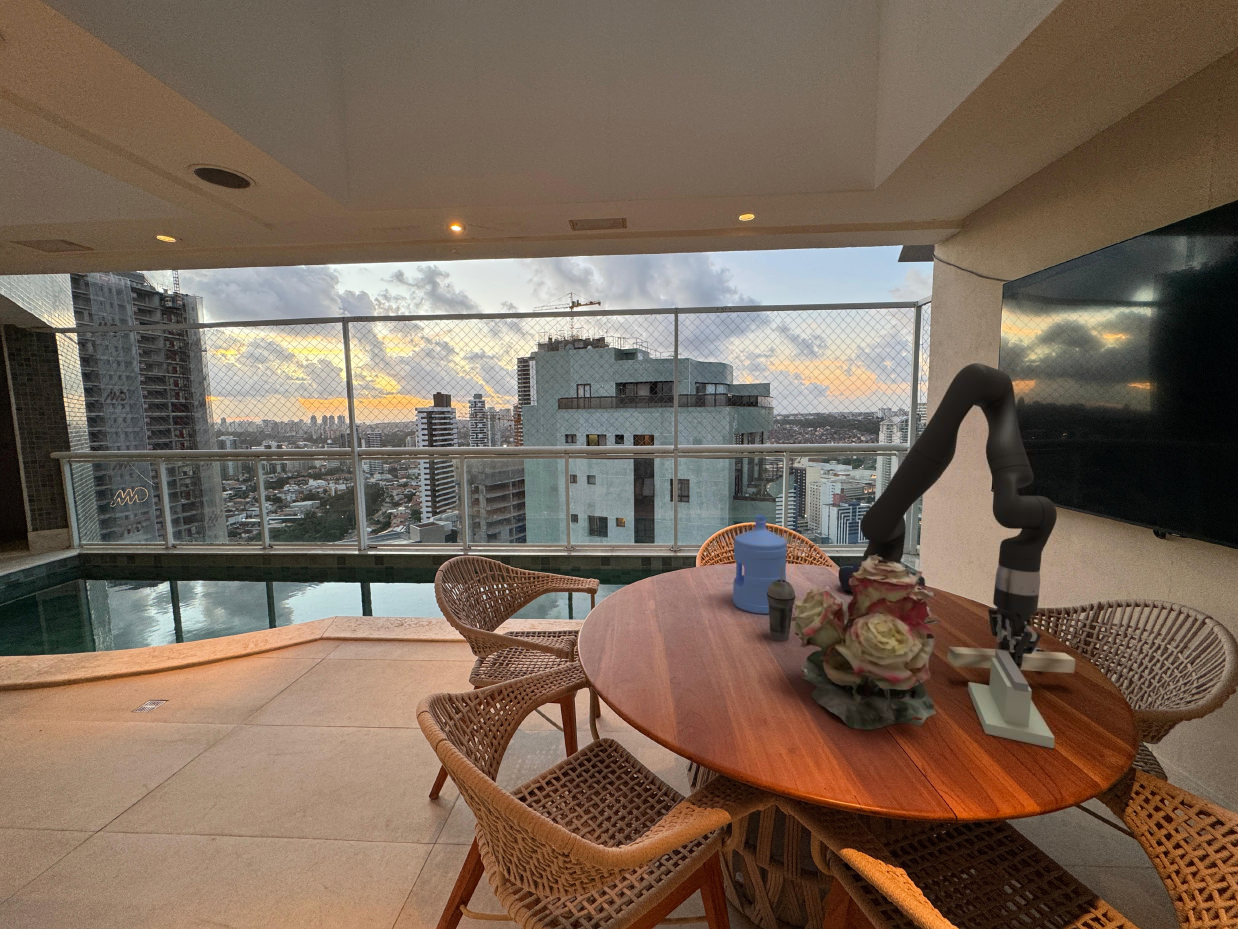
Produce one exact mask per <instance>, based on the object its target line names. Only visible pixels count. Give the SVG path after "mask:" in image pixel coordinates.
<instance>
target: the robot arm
mask: <svg viewBox="0 0 1238 929" xmlns="http://www.w3.org/2000/svg"><path fill="white" fill-rule="evenodd" d="M1015 396H1016V395H1015V388H1014V384H1013V380H1012V379H1011V377H1010V375H1009V374H1008V373H1006V372H1005V371H1003V370H1001V369H997V368H994V367H992V366H989V365H987V364H983V363H979V362H975V363H971V364H968V365H966V366H964V367H963V368H961V369H960V371H959V372H957V373H956V375H955V376H954V378H953V379H952V380H951V382H950V384H949V386H948V388H947V389H946V391H945V393H944V396H943V398H942V399H941V400H940V403H939V405H937V406H938V407H937V409H936V410H935V412H934V414H933V415H932V416H931V418H930V419H929V421H928V423H927V424H926V426H925V427H924V429H923V431H922V432H921V434H920V436H919V437H918V438H917V440H916V441H915V442H914V443H913V444H912V447H911V448H910V450H909V451H908V452H907V454H906V455H905V457H904V458H903V460H902V462H901V464H899V466H898V468H897V470H896V471H895V473H894V474H893V476H892V477H891V479H890V481H889V483H887V484H888V485H887V486H886V487H885V489H884V491H883V492H882V493H881V494H880V495H879V497H878V498H877V499H876V501H874V502H873V504H872V505H871V506H870V507H869V509H867V510H866V512H865V513H864V514H863V515H862V518H861V520H860V531H861V534H862V536H863V537H864V538H865V539H866V540H867V541H868V544H867V547H866V549H865V550H864V552H863V555H862V562H863V561H866V560H867V559H868V558H869V556H875V555H876V554H878V555H876V556H878V557H880V558H882V559H883V560H886V561H889V562H890V561H891V562H895V563H899V564H902V563H901V562H902V559H903V556H904V552H905V551H904V550H905V542H906V534H907V533H906V532H907V530H906V528H907V527H906V525H907V524H906V520H905V515H906V513H907V512H908V511H909V509H910V508H911V507H912V505H913V504H914V503H915V502H917V501H918V500H919V498H920V497H922V496H923V495H924V494H925V493H926V492H927V491H928V490H929V489H930V488H932V487H933V485H934V484H935V483H936V482H937V481H938V480H939V479H940V478H941V476H943V473H944V472H945V471H946V470H947V468H948V467H949V465H950V464H951V462H952V461H953V459H954V457H955V454H956V450H957V442H958V435H959V434H958V433H959V429H960V427H961V424H962V423H963V421H964V419H965V418H966V416H967V415H968V414H969V412H970V410H971V409H972V408H973V407H974V406H975V407H979V408H980V409H981V411H982V413H983V415H984V417H985V419H986V422H987V426H988V432H987V433H988V434H987V440H986V444H985V456H986V461H987V465H988V468H989V471H990V474H991V477H992V481H993V483H992V484H993V487H992V488H993V492H992V493H993V494H992V495H993V498H992V513H993V517H994V519H995V521H996V522H997V523H998V524H999V525H1000V526H1001V527H1004V528H1005V529H1012V530H1014V529H1015V530H1020V529H1021V530H1020V532H1019V533H1018V534H1017V535H1015V536H1011V537H1008V538H1005V539H1003V540H1001V542H1000V545H999V553H998V562H997V563H998V564H997V568H996V571H995V578H994V579H995V580H994V589H993V597H992V598H993V599H992V604H993V605H994V607H996V608H989V609H988V611H987V613H988V618H989V623H990V625H989V626H990V631H991V632H990V633H991V635H992V636H993V637H995V638H996V642H997V643H998V648H997V649H1000V650H1010V651H1009V655H1010V656H1011V658H1012V659H1013V661H1014V662H1015V664H1016V665H1017V667H1018V669H1020V668H1021V666H1022V658H1023V654H1032V652H1033V650H1034V649H1035V647H1037V645H1038V643H1039V642H1040V640H1041V638H1042V634H1041V633H1040V632H1038V631H1035V630H1034V629H1033V628H1032V621H1031V620H1032V619H1031V618H1032V616H1033V615H1035V614H1037V613H1038V608H1039V598H1040V597H1039V595H1040V588H1041V564H1042V556H1043V555H1042V552H1043V551H1044V549H1045V547H1046V544H1047V543H1048V541H1049V539H1050V536H1051V534H1052V532H1053V531H1054V528H1055V525H1056V522H1057V518H1058V513H1057V509H1056V506H1055V504H1054V502H1053V501H1052V500H1051V499H1050V498H1048V497H1046V496H1042V495H1019V493H1018V489H1021V488H1024V487H1027V486H1029V485H1030V484H1032V483H1033V481H1034V473H1033V470H1032V467H1031V464H1030V460H1029V458H1028V455H1027V452H1026V449H1025V447H1024V444H1023V440H1022V437H1021V432H1020V426H1019V419H1018V414H1017V407H1016V397H1015ZM996 619H997V620H996ZM996 625H997V628H996ZM1014 636H1021V637H1014ZM1016 642H1019V644H1018V646H1017V647H1016ZM1026 647H1027V648H1026Z"/></svg>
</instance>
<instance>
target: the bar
mask: <svg viewBox="0 0 1238 929" xmlns="http://www.w3.org/2000/svg"><path fill="white" fill-rule="evenodd" d="M995 650H1000V649H998V648H982V647H981V648H980V647H979V648H978V647H962V646H960V647H959V646H947V657H946V659H947V661H949V663H951V664H952V665H953V667H961V668H962V667H965V668H980V669H982V668H983V669H991V658H996V657H995ZM1003 651H1008V653H1009V651H1010V650H1003ZM1075 667H1076V659H1075V658H1074V657H1072V656H1070V655H1069V654H1067V653H1065V652H1056V651H1055V652H1054V651H1053V652H1052V651H1045V652H1039V651H1033V652H1032V654H1023V658H1022V666H1021V668H1020V669H1019V670H1020V671H1033V672H1034V671H1035V672H1047V673H1048V672H1049V673H1051V672H1052V673H1068V674H1074V673H1075Z"/></svg>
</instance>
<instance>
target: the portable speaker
mask: <svg viewBox="0 0 1238 929" xmlns="http://www.w3.org/2000/svg"><path fill="white" fill-rule="evenodd" d="M861 563H862V562H857V561H845V562H842V563H841V564H840V566H839V569H838V581H839V584H840V587H841V589H843V590H844V591H846V592H849V593H853V591H852V590H851V588H850V586H849V579H850V578H851V576H850V575H852V573H857V572H858V571H859V569H860V567H861V565H862V564H861ZM909 572H910V573H911V574H912V575H913V576H915V575H916V574H917V573H916V572H914V571H911V570H910V571H909ZM918 585H922V586H924V587H926V580H925V578H924V576H921V577H920V578H918Z"/></svg>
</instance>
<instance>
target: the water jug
mask: <svg viewBox="0 0 1238 929" xmlns="http://www.w3.org/2000/svg"><path fill="white" fill-rule="evenodd" d="M754 517H755V521H754V524H755V525H754V526H755V527H754V528H753V529H751V530H748V531H745V532H741V533H740V534H737V535H736V536H735V537H734V542H733V559H734V561H735V563H736V564H735V565H736V566H735V569H736V570H735V578H734V579H733V587H732V588H733V592H732V602H733V604H734V605H735V606H736V608H739V609H741V610H742V611H745V612H748V613H753V614H761V615H763V614H764V615H766V614H767V615H769V603H768V599H767V590H768V587H769V586H770V584H771V583H772V582H773V581H776V580H780V578H781V565H783V580H785V581H787V572H786V571H787V570H786V569H787V567H786V565H787V552H788V548H787V541H786V539H785V538H784V537H783V536H780V535H778V534H776V533H774V532H773V531H770V530H768V529H767V527H766V526H767V520H766V518H767V515H764V514H756V515H755V516H754Z"/></svg>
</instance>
